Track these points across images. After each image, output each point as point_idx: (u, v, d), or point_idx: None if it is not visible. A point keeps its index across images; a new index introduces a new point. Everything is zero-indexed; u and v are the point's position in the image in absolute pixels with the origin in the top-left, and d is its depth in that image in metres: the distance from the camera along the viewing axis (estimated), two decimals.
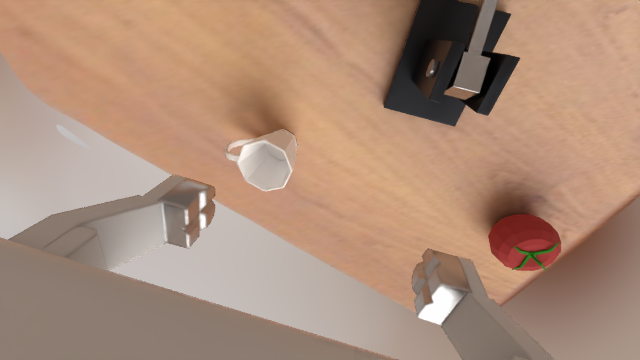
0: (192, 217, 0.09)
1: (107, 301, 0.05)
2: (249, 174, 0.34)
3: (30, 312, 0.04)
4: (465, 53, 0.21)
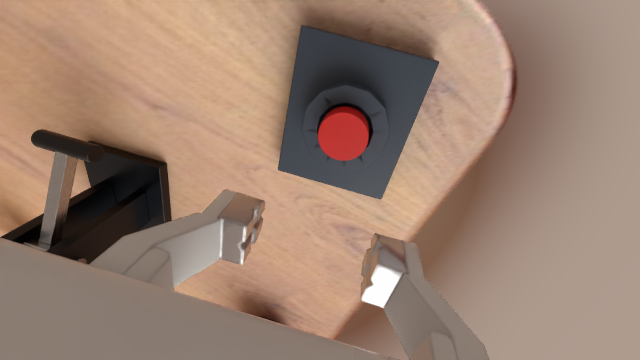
0: (248, 234, 0.09)
1: (107, 301, 0.05)
2: None
3: (30, 312, 0.04)
4: (24, 244, 0.22)
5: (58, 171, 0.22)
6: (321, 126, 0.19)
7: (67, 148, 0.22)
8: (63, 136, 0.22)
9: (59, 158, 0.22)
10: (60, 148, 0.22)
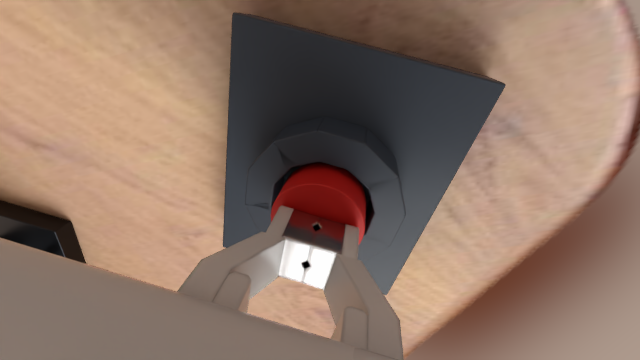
0: None
1: (107, 301, 0.05)
2: None
3: (30, 312, 0.04)
4: None
5: None
6: (275, 205, 0.10)
7: None
8: None
9: None
10: None
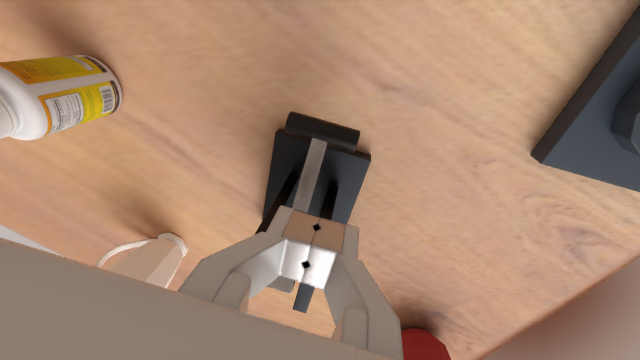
0: None
1: (107, 301, 0.05)
2: None
3: (30, 312, 0.04)
4: None
5: (314, 162, 0.18)
6: None
7: (332, 134, 0.18)
8: (321, 120, 0.18)
9: (317, 146, 0.18)
10: (323, 134, 0.18)
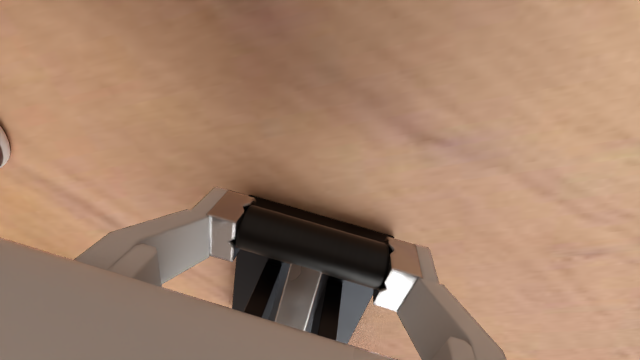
0: None
1: (107, 301, 0.05)
2: None
3: (30, 312, 0.04)
4: None
5: (296, 311, 0.09)
6: None
7: (332, 260, 0.08)
8: (310, 226, 0.09)
9: (301, 281, 0.09)
10: (313, 260, 0.09)
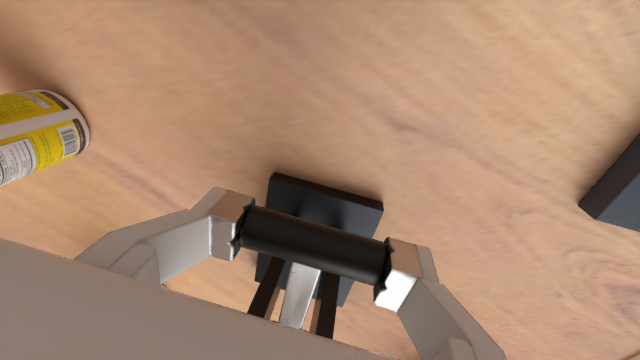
0: (237, 230, 0.09)
1: (107, 301, 0.05)
2: None
3: (30, 312, 0.04)
4: None
5: (302, 290, 0.10)
6: None
7: (329, 267, 0.09)
8: (308, 233, 0.09)
9: (303, 273, 0.10)
10: (311, 265, 0.09)
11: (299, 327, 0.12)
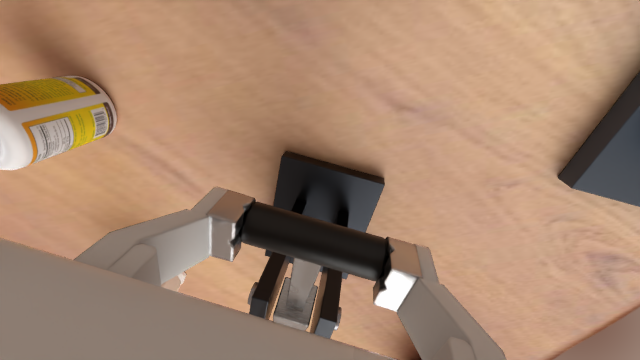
0: (238, 231, 0.09)
1: (107, 301, 0.05)
2: None
3: (30, 312, 0.04)
4: (275, 317, 0.16)
5: (306, 274, 0.11)
6: None
7: (329, 265, 0.09)
8: (307, 235, 0.09)
9: (306, 264, 0.10)
10: (312, 262, 0.09)
11: (307, 294, 0.13)
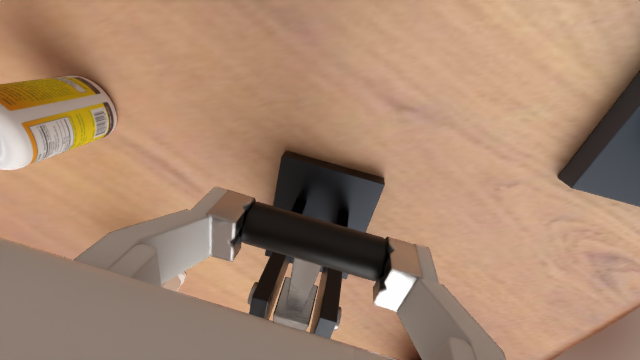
0: (238, 230, 0.09)
1: (107, 301, 0.05)
2: None
3: (30, 312, 0.04)
4: (275, 317, 0.16)
5: (306, 274, 0.11)
6: None
7: (329, 265, 0.09)
8: (307, 235, 0.09)
9: (306, 264, 0.10)
10: (312, 262, 0.09)
11: (307, 294, 0.13)
